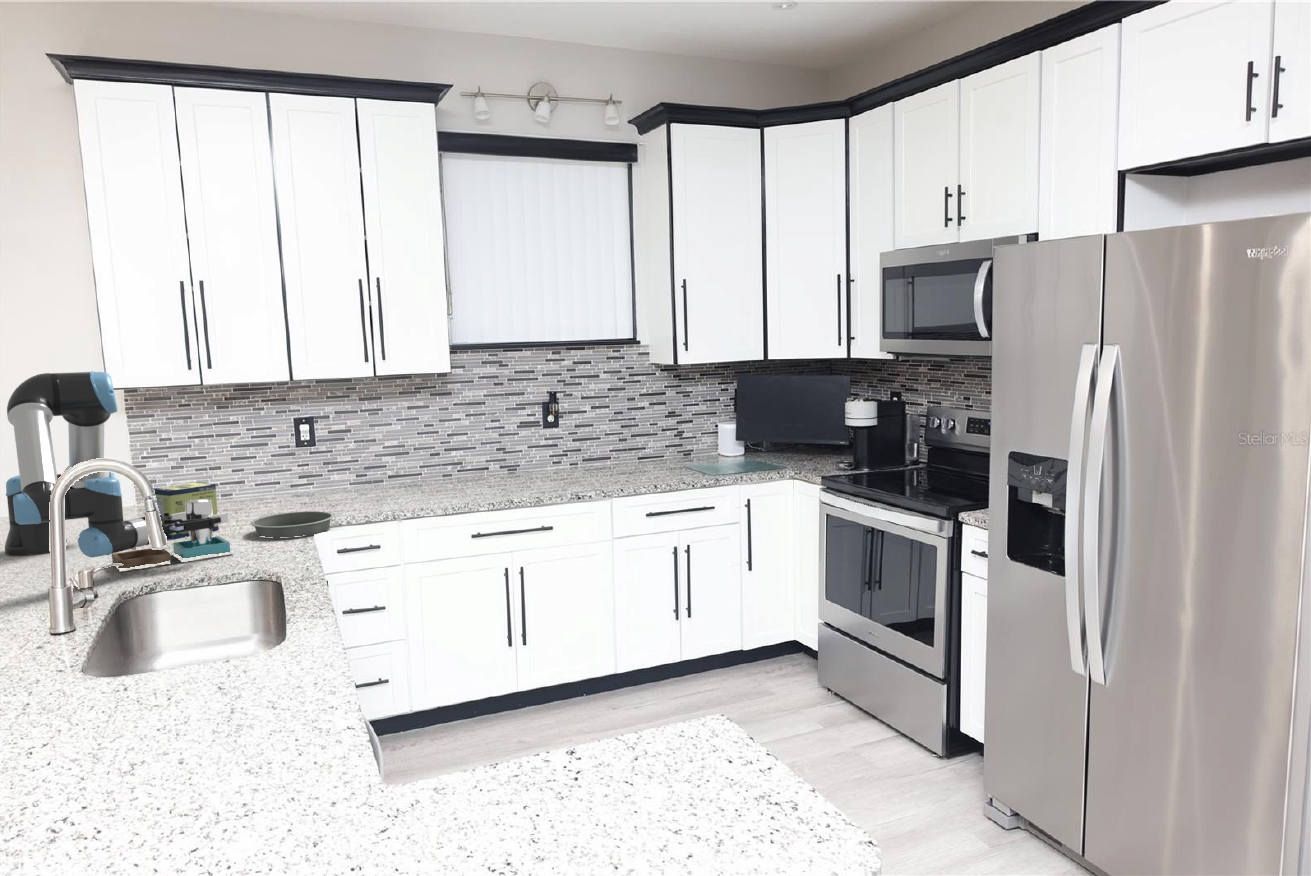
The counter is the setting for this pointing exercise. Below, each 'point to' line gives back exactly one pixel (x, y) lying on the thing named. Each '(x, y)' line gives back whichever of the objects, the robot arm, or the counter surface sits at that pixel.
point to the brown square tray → (140, 557)
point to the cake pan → (292, 524)
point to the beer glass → (199, 511)
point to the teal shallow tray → (201, 548)
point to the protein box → (184, 500)
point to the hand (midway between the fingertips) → (208, 516)
